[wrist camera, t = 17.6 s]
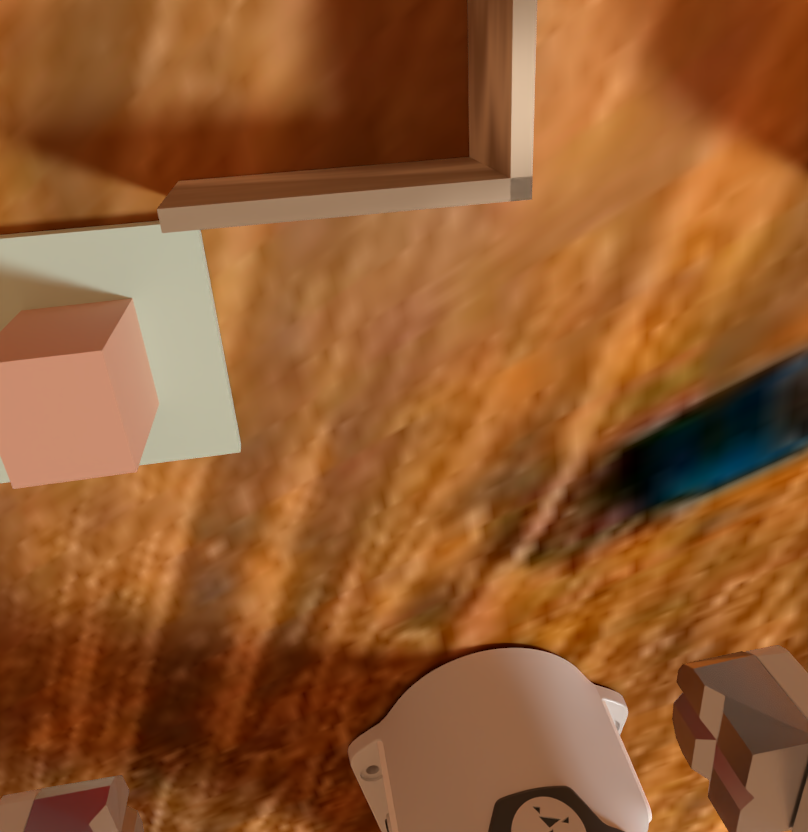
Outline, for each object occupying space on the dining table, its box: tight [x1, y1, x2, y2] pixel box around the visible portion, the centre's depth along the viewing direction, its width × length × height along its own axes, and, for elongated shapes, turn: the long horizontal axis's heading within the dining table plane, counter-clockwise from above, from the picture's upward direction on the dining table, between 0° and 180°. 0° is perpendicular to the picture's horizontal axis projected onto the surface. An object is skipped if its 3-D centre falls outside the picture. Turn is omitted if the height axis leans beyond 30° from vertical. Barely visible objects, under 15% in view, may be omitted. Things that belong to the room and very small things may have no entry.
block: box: [0, 298, 159, 489], centre depth 28 cm, size 5×4×6 cm
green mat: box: [0, 221, 241, 483], centre depth 31 cm, size 11×11×1 cm
